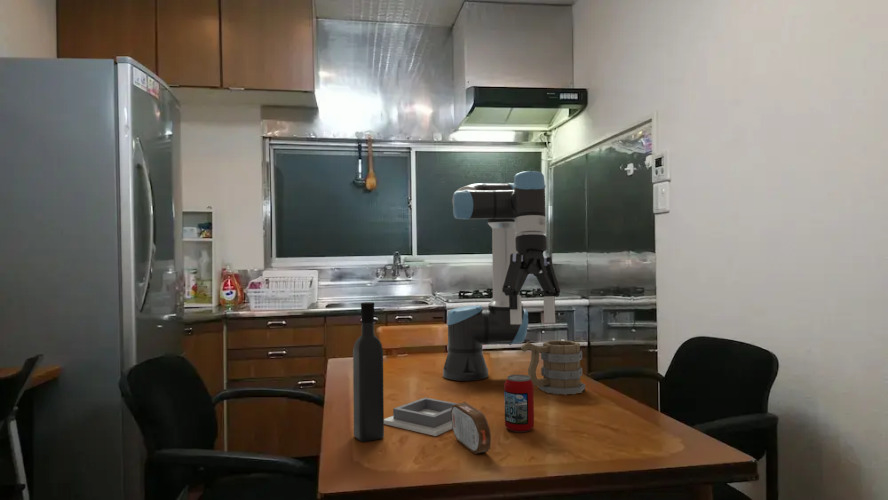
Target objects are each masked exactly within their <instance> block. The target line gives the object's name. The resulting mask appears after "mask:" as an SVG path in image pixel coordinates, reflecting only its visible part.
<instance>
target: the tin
mask: <svg viewBox="0 0 888 500" xmlns="http://www.w3.org/2000/svg"><path fill="white" fill-rule="evenodd" d="M451 419H452V429H451V430H452V432H453V435H454V437H455V439H456V440H457V442H459V443H460V444H462V446H464V447H465V448H466V449H468V451H470V452H471V453H472V454H476V455H477V454H481V453H488V452H489V450H490V449H491V444H492V438H491V437H492V434H491V429H490V426H489V423H488V420H487V418H486V416H485V415H484V413H483V412H482V411H481V410H479V409H478V408H476V407H474V406H473V405H471V404H469V403H468V402H467V401H463V402H459V403H458V404H455V405H453V406H452V409H451Z"/></svg>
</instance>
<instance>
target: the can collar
mask: <svg viewBox="0 0 888 500" xmlns="http://www.w3.org/2000/svg"><path fill="white" fill-rule="evenodd" d="M455 404H458V403H457V402H452V401H445V400H440V399H435V398H429V397H423V398H420V399H417V400H413V401H411V402H408V403H406V404H402V405H399V406H397V407H394V408H393V410H392V411H393V412H392V413H393V415H391V416H389V417H385V418H384V425H388V426H391V427H396V428H399V429H403V430H408V431H413V432H417V433H421V434H425V435H430V436H433V437H437V436H439V435H442V434H444V433H446V432H449V431H450V430H453V429H452V419H451V409H452V406H453V405H455Z"/></svg>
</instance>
